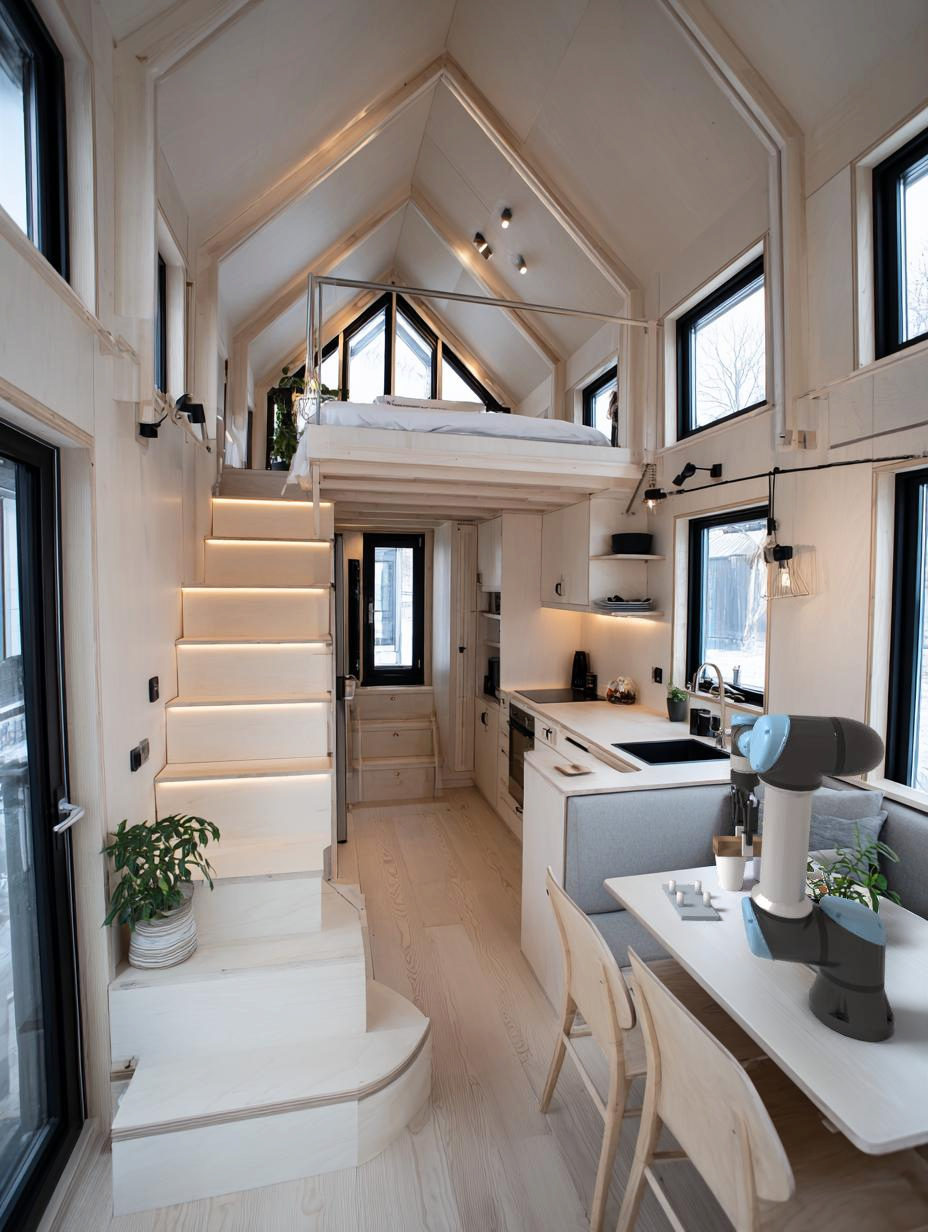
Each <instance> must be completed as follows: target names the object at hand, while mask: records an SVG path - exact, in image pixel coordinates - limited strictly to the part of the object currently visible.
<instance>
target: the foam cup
mask: <svg viewBox="0 0 928 1232" xmlns="http://www.w3.org/2000/svg"><path fill="white" fill-rule="evenodd" d="M714 855H715V865H716V874H717V880H718V885H719V887H720V888H722V890H723V889H724V890H726V891H729V892H739V891H741V890H742V887H743V884H744V883H743V882H744V877H745V872H746V866H747V865H746V863H747V858H748V857H717V855H716V854H715V853H714Z"/></svg>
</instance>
